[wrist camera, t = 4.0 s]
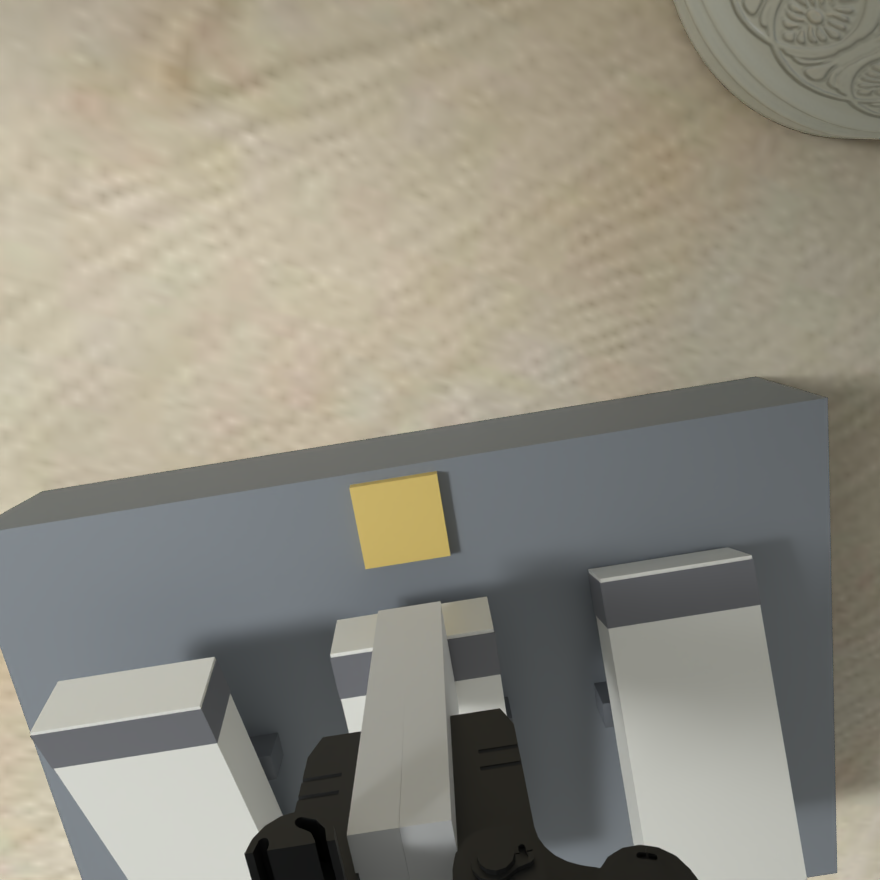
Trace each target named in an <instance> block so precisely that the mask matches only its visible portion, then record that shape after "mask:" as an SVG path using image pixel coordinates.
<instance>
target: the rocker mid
mask: <svg viewBox="0 0 880 880" xmlns="http://www.w3.org/2000/svg"><path fill="white" fill-rule="evenodd" d="M441 607H442V613H443V618H444V624H445V630H446V635H447V641H448V647H449V652H450V658H451V664H452V669H453V675H454V681H455V686H456V692H457V698H458V708H459V714H465V713H472V712H478V711H485V710H491V709H498V708H500V709H501V710H502V711H503V712H504V713H505V714H506V708H505V701H504V695H503V688H502V681H501V675H500V674H501V669H500V663H499V656H498V650H497V643H496V636H495V630H494V626H493V621H492V616H491V611H490V606H489V601H488V599H487V597H480V598H474V599H468V600H461V601H455V602H449V603H442V604H441ZM377 615H378V614H373V615H366V616H360V617H354V618H347V619H341V620H337V623H336V628H335V633H334V638H333V643H332V648H331V653H330V660H331V664H332V668H333V673H334V677H335V681H336V685H337V689H338V693H339V698H340V699H341V702H342V706H343V710H344V714H345V718H346V723H347V727H348V731H349V733H353V732H360V731H361V729H362V722H363V715H364V708H365V701H366V693H367V686H368V679H369V672H370V665H371V658H372V651H373V644H374V636H375V629H376V622H377ZM506 716H507V714H506Z"/></svg>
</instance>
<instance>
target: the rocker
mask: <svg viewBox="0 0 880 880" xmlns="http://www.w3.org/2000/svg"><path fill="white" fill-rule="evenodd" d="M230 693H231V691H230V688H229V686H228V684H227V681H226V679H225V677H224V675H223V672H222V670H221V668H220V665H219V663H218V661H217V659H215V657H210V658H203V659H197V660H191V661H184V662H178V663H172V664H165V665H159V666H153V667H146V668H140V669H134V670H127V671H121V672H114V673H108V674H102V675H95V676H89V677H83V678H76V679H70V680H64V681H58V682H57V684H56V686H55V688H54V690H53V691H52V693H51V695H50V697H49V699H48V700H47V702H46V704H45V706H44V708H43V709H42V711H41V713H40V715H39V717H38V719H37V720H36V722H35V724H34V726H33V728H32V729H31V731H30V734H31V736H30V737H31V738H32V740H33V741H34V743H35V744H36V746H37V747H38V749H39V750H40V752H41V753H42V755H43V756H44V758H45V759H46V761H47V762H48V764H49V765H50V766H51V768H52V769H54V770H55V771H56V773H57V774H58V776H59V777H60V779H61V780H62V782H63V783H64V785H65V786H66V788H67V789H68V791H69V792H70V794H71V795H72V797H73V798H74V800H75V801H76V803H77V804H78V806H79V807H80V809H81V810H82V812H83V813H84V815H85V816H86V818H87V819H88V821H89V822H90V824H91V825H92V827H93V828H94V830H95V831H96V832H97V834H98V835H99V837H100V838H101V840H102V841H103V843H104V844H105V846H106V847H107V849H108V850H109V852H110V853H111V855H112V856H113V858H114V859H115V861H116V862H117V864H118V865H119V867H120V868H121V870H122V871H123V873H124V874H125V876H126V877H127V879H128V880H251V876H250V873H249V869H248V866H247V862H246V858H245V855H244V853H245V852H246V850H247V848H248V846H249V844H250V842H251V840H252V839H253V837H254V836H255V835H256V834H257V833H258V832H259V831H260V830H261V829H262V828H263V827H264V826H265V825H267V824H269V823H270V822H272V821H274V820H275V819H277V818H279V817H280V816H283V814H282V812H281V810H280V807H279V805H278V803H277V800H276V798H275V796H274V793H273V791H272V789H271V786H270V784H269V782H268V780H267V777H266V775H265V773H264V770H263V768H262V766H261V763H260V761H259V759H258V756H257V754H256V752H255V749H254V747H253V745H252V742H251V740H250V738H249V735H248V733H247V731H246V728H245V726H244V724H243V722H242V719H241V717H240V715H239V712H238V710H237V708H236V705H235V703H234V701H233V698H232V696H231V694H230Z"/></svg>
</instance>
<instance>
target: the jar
mask: <svg viewBox="0 0 880 880" xmlns="http://www.w3.org/2000/svg"><path fill="white" fill-rule="evenodd" d="M673 2H674V4H675V7H676V10H677V13H678V15H679V18H680V20H681V22H682V24H683V27H684V29H685V31H686V33H687V35H688V37H689V39H690V41H691V42H692V44H693V46H694V48H695V49H696V51H697V52H698V54H699V55H700V57H701V59H702V60H703V62H704V63H705V64H706V66H707V67H708V68H709V69H710V71H711V72H712V73H713V74H714V76H715V77H716V78H717V79H718V80H719V81H720V82H721V83H722V84H723V85H724V86H725V87H726V88H727V89H728V90H729V91H730V92H731V93H732V94H733V95H734V96H735V97H737V98H738V99H739V100H740V101H742V102H743V103H744V104H746V105H747V106H748V107H750V108H751V109H753V110H754V111H756V112H758V113H759V114H761V115H762V116H764V117H766V118H768V119H770V120H772V121H774V122H776V123H778V124H780V125H783V126H786V127H788V128H791V129H793V130H797V131H800V132H804V133H807V134H812V135H817V136H822V137H831V138H851V139H855V138H857V139H880V0H673Z"/></svg>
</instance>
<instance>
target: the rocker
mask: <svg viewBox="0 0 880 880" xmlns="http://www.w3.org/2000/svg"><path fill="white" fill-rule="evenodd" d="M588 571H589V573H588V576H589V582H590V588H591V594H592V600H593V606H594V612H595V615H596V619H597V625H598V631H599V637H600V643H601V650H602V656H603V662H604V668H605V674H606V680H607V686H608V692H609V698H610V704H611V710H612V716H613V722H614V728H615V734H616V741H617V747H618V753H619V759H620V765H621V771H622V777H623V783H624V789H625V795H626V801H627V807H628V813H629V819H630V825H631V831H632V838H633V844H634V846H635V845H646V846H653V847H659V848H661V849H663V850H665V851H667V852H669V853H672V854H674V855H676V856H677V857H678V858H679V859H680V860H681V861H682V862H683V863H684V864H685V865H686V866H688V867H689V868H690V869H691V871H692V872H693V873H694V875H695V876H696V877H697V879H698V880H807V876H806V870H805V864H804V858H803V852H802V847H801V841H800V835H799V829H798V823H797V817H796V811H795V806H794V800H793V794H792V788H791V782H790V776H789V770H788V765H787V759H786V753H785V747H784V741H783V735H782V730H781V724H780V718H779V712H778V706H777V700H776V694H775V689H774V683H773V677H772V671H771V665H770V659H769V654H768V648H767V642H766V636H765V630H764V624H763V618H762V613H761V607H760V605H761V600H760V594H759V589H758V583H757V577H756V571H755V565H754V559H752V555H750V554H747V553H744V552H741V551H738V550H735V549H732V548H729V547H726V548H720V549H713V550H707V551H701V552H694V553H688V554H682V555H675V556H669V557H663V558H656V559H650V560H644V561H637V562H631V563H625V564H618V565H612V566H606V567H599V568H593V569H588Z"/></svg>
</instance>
